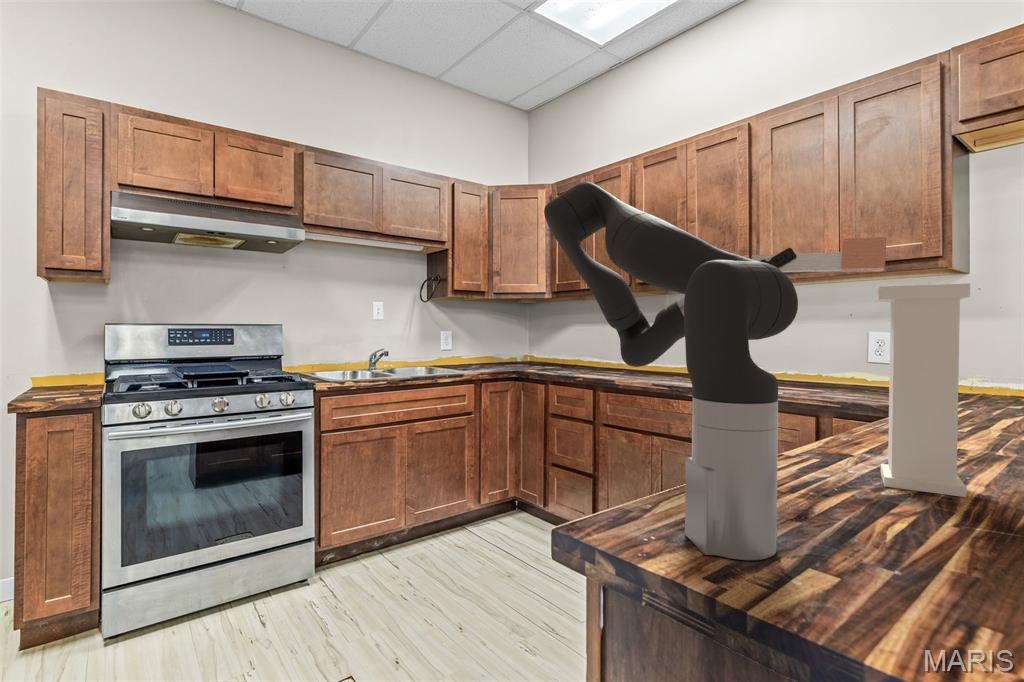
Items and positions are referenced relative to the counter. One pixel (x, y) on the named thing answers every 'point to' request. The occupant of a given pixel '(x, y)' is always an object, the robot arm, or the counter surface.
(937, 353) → the stand
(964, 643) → the counter surface
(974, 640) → the counter surface
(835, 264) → the peg
